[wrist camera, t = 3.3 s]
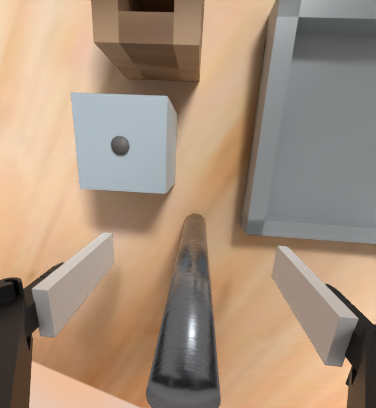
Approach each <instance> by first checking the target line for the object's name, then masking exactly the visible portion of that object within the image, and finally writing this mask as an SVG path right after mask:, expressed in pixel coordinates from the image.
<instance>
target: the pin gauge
mask: <svg viewBox="0 0 376 408" xmlns="http://www.w3.org/2000/svg"><path fill="white" fill-rule="evenodd" d="M146 396H147V400H148V403H149V405H150V406H151V407H152V408H219V406H220V399H221V398H220V387H219V375H218V364H217V352H216V341H215V329H214V317H213V306H212V294H211V283H210V271H209V260H208V248H207V237H206V225H205V220H204V218H203V217H202V216H201V215H199V214H191V215H189V216H188V217H187V218H186V219H185V223H184V227H183V231H182V236H181V240H180V245H179V249H178V254H177V258H176V262H175V267H174V271H173V276H172V280H171V284H170V289H169V293H168V298H167V302H166V307H165V311H164V315H163V320H162V324H161V329H160V333H159V337H158V342H157V346H156V351H155V355H154V360H153V364H152V368H151V373H150V377H149V382H148V386H147V391H146Z"/></svg>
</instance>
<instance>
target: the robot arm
mask: <svg viewBox="0 0 376 408" xmlns="http://www.w3.org/2000/svg"><path fill="white" fill-rule="evenodd" d="M113 264H114V252H113V233H104V232H103V233H102V234H101V235H99V236H98V237H97V238H96V239H94V240H93V241H92V242H91V243H89V244H88V245H87V246H86V247H84V248H83V249H82V250H80V251H79V252H78V253H77V254H75V255H74V256H73V257H72V258H70V259H69V260H68V261H66V262H65V263H63V262H62V263H60V264H58V265H56V266H54V267H52V268H51V269H49V270H48V271H47V272H46V273H44V274H43V275H41V276H40V278H37V279H36V280H35V281H33V282H32V283H31V284H29V285H28V286H27V287H25V288H24V289H23V286H22V281H21V279H20V278H6V279H2V280H0V408H29V398H30V397H29V396H30V380H31V362H32V344H33V338H32V333H33V332H34V331H35V330H36V329H37V328H38V326H39V332H40V336H46V337H56V336H57V334H58V333H59V332H60V331H61V329H62V328H63V327H64V326H65V324H66V323H67V322H68V321H69V319H70V318H71V317H72V316H73V314H74V313H75V312H76V311H77V309H78V308H79V307H80V306H81V304H82V303H83V302H84V301H85V299H86V298H87V297H88V296H89V294H90V293H91V292H92V291H93V289H94V288H95V287H96V286H97V284H98V283H99V282H100V281H101V279H102V278H103V277H104V276H105V274H106V273H107V272H108V271H109V269H110V268H111V267H112V266H113ZM272 278H273V280H274V281H275V283H276V285H277V286H278V288H279V290H280V291H281V293H282V295H283V296H284V298H285V300H286V301H287V303H288V305H289V306H290V308H291V310H292V311H293V313H294V315H295V316H296V318H297V320H298V321H299V323H300V325H301V326H302V328H303V330H304V331H305V333H306V334H307V336H308V338H309V339H310V341H311V343H312V344H313V346H314V348H315V349H316V351H317V353H318V354H319V356H320V358H321V359H322V361H323V363H324V364H325V365H329V366H339V367H342V365H343V362H344V359H345V356H346V358H347V359H348V361H349V362H350V363H351V365H352V367H351V370H350V373H349V375H348V378H347V381H346V385H348V386H349V388H348V400H347V408H376V325H374V324H372V323H371V322H370V321H369V320H368V319H367V318H366V317H365V316H364V315H363V314H362V313H361V312H360V311H359V310H358V309H357V308H356V307H355V306H354V305H352V304H351V302H350V301H349V300H348V299H346V298H345V297H344V296H343V295H342V294H341V293H340V292H339V291H338V290H337V289H335V288H334V287H332V286H330V285H329V284H324V283H323V282H322V281H321V280H320V279H319V278H318V277H317V276H316V275H315V274H314V273H313V272H312V271H311V270H310V269H309V268H308V267H307V266H306V265H305V264H304V263H303V262H302V261H301V260H300V259H299V258H298V257H297V256H296V255H295V254H294V252H293V251H292V250H291V249H290V248H289V247H288V246H277V251H276V256H275V262H274V267H273V272H272Z"/></svg>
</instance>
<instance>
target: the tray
mask: <svg viewBox="0 0 376 408" xmlns="http://www.w3.org/2000/svg"><path fill="white" fill-rule="evenodd" d="M241 227H242V229H243V230H244V232H245V234H247V235H261V236H274V237H288V238H301V239H314V240H328V241H341V242H355V243H368V244H376V0H276V1H275V4H274V6H273V8H272V10H271V12H270V14H269V18H268V25H267V33H266V40H265V47H264V55H263V62H262V70H261V77H260V85H259V92H258V100H257V107H256V115H255V122H254V130H253V137H252V145H251V152H250V159H249V167H248V174H247V182H246V189H245V197H244V204H243V212H242V219H241Z"/></svg>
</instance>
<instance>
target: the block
mask: <svg viewBox="0 0 376 408" xmlns="http://www.w3.org/2000/svg"><path fill="white" fill-rule="evenodd" d="M71 101H72V111H73V121H74V131H75V142H76V152H77V162H78V172H79V182H80V189H93V190H110V191H126V192H142V193H159V194H166V193H167V192H168V191H169V190H170V188H171V187H172V186H173V185H174V184H175V170H176V138H177V113H176V111H175V109H174V107H173V105H172V104H171V102H170V100H169V98H168V96H156V95H129V94H101V93H73V92H71Z"/></svg>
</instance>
